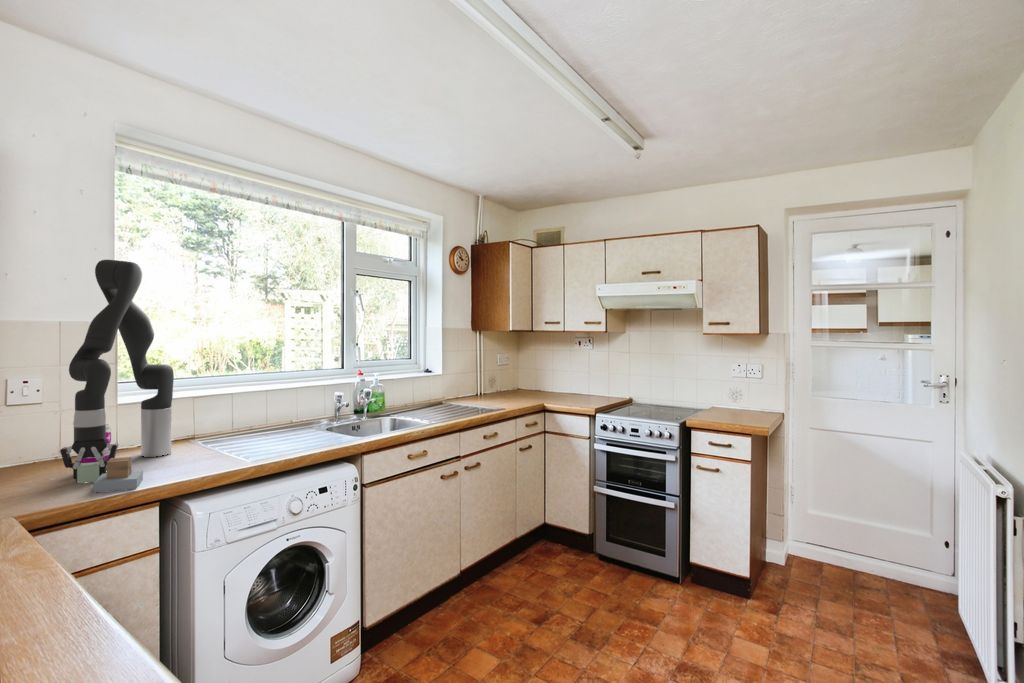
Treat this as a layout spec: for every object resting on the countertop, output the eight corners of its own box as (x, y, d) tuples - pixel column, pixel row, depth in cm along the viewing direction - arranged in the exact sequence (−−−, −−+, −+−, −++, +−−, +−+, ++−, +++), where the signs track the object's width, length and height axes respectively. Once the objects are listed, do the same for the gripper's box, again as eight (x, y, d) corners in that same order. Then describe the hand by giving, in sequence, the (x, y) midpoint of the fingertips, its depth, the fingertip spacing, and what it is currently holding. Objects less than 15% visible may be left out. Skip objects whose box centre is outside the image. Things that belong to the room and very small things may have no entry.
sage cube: (82, 479, 158) (82, 463, 158) (102, 477, 160) (102, 461, 160) (77, 484, 154) (77, 467, 153) (98, 482, 156) (98, 465, 156)
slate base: (102, 483, 154) (102, 473, 154) (142, 479, 159) (142, 470, 159) (93, 493, 145) (93, 482, 145) (136, 488, 150) (136, 478, 150)
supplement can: (117, 470, 169) (117, 424, 168) (89, 476, 161) (89, 429, 161) (100, 467, 171) (100, 422, 171) (72, 473, 164) (72, 426, 163)
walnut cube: (110, 474, 153) (110, 458, 153) (131, 473, 155) (131, 456, 155) (106, 479, 149) (106, 462, 149) (127, 477, 151) (127, 460, 151)
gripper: (121, 420, 163) (121, 473, 163) (63, 423, 157) (63, 478, 157) (116, 424, 156) (116, 480, 157) (55, 427, 150) (55, 485, 150)
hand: (89, 479), depth 157 cm, fingers closed on sage cube, 5 cm apart
